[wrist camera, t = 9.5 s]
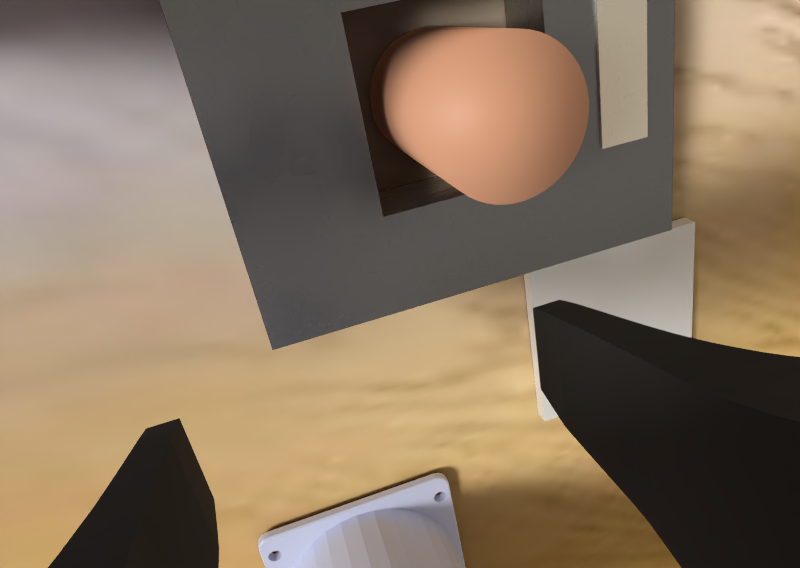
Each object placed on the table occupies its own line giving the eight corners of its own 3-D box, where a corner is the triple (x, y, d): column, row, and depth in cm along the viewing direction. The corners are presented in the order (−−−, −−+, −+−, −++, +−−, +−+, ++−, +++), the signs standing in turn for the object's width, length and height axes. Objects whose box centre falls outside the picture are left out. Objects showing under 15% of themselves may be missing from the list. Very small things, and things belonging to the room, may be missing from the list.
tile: (681, 363, 27) (690, 370, 27) (538, 413, 26) (544, 421, 25) (684, 217, 24) (695, 222, 24) (522, 265, 23) (530, 271, 22)
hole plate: (628, 210, 23) (673, 230, 21) (266, 315, 21) (273, 351, 19) (620, -171, 18) (680, -199, 16) (137, -88, 16) (124, -106, 13)
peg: (499, 134, 21) (597, 174, 15) (389, 172, 20) (452, 227, 15) (475, 9, 19) (578, 5, 14) (354, 47, 18) (412, 58, 13)
